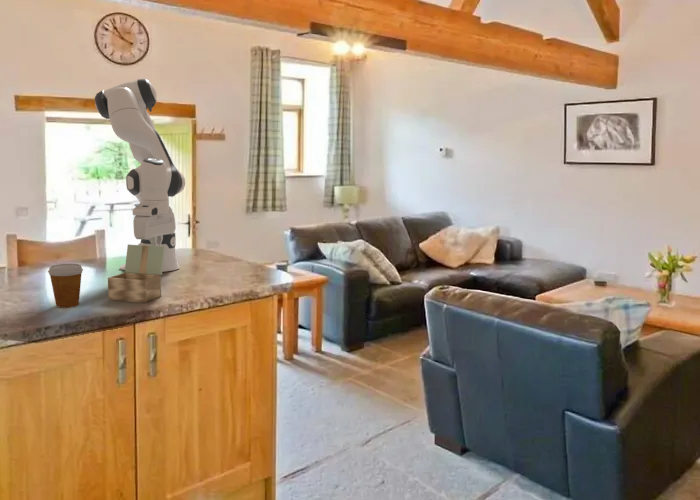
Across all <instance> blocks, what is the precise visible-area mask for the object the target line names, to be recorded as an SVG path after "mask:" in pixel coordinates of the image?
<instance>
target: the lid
mask: <svg viewBox="0 0 700 500" xmlns="http://www.w3.org/2000/svg"><path fill="white" fill-rule="evenodd" d="M126 248H127V249H126V257H125V258H126V259H125V263H124V264H125V270H124V272H125V273H138V274H151V275H161V276H162V275H163V272H162V269H163V260H164V251H165V247H159V246H146V245H138V244H127V247H126Z"/></svg>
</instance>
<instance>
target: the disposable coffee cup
mask: <svg viewBox="0 0 700 500" xmlns="http://www.w3.org/2000/svg"><path fill="white" fill-rule="evenodd" d="M83 271H84V268H83V266H82V264H79V263H57V264H53V265H50V266H49V269H48V271H47V273H48V275H49V276H50V281H51V286H52V292H53V296H54V303H55V307H57V308H61V309H63V308H65V309H66V308H67V309H68V308H74V307H77V306H79V305H80V295H81V294H80V293H81V283H82V273H83Z"/></svg>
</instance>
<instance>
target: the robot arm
mask: <svg viewBox="0 0 700 500" xmlns="http://www.w3.org/2000/svg"><path fill="white" fill-rule="evenodd" d="M157 101H158V100H157V92H156V88H155V86H154V85H153V84H152V82H151V81H150V80H148V79H146V78H141V79H140V78H139V79H137V80H133V81H127V82H123V83H119V84H117V85H115V86H112V87H109V88H107V89H102V90H100V91H98V92H97V93H96V95H95V97H94V104H95V108H96V110H97V113H99V115H100V116H101V117H102V118H104V119H107V120H109V121H110V125H111V128H112V130H113V132H114V134H115V135H116V136H117V138H119V139H121V140H122V141H124V142H126V143H128V145H129V148H130V151H131V153H132V157H133V158H134V159H135V161H136V162H138V163H139V164H140V165H139V166H138V167H136V168H132V169H131V170H129V171H128V173H127V174H126V178H125V180H126V182H125V183H126V184H125V185H126V190H127V191H128V192H129V193H130V194H131V195H133V196H134V197H136V199H137V200H138V203H139V204H137V206H136V207H134V208H133V209H132V215H133V216H134V217H133V224H132V225H133V235H134V237H135V239H136V240H140V243H138V244H137V245H146V246H159V247H165V251H164V260H163V269H162V273H163V272H164V273H165V272H171V271H176V270H178V269H180V265H179V263H178V257H177V253H176V243H177V242H176V219H175V214H174V212H173V209H172V208H171V206H170V198H169V197H171V198H173V197H175V196H176V195H178V194H180V193H182V192H183V190H184V188H185V186H186V179H185V176H184V175H183V173H182V172H181V171H180V170H178V169H177V168H176V166H175V164H174V162H173V160H172V158H171V156H170V154H169V151H168V150H167V148H166V145H165V143H164V141H163V140H162V138H161V136H160V134H159V132H158V131H157V130H156V127H155V124H154V122H153V119H152V118H151V116H150V114H149V112H150V113H151V112H152V111H153V108H154V107H155V105H156V103H157ZM125 264H126V263H123V264H121V265H120V266H119V270H120V271H121V270H123V271H125Z"/></svg>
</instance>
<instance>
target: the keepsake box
mask: <svg viewBox="0 0 700 500" xmlns="http://www.w3.org/2000/svg"><path fill="white" fill-rule="evenodd" d="M161 276H162V275H158V274H143V273H132V272H125V271H124V272H121V273H119V274H115V275H113V276H110V277H107V287H108V288H107V290H108V293H107V294H108V300H109V301H119V302H132V303H141V304H147V303H149V302H151V301H154V300H156V299H158V298H161V297H162V280H161V279H162V277H161Z"/></svg>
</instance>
